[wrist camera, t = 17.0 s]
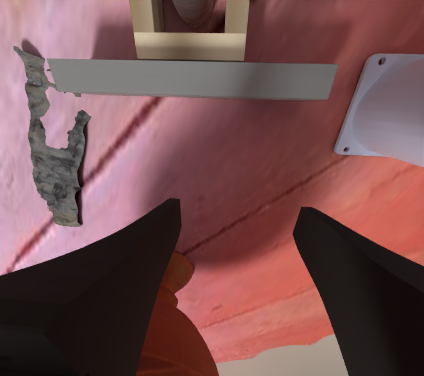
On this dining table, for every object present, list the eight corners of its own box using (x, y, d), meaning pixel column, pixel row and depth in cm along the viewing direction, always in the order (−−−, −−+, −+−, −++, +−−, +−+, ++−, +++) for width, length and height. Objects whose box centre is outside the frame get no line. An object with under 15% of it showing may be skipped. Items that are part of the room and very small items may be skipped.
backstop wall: (310, 74, 14) (338, 64, 11) (303, 101, 15) (328, 99, 11) (88, 69, 15) (46, 58, 12) (95, 94, 16) (57, 91, 12)
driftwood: (84, 228, 25) (73, 238, 23) (38, 212, 24) (23, 220, 22) (102, 85, 16) (86, 82, 15) (31, 50, 16) (5, 42, 14)
